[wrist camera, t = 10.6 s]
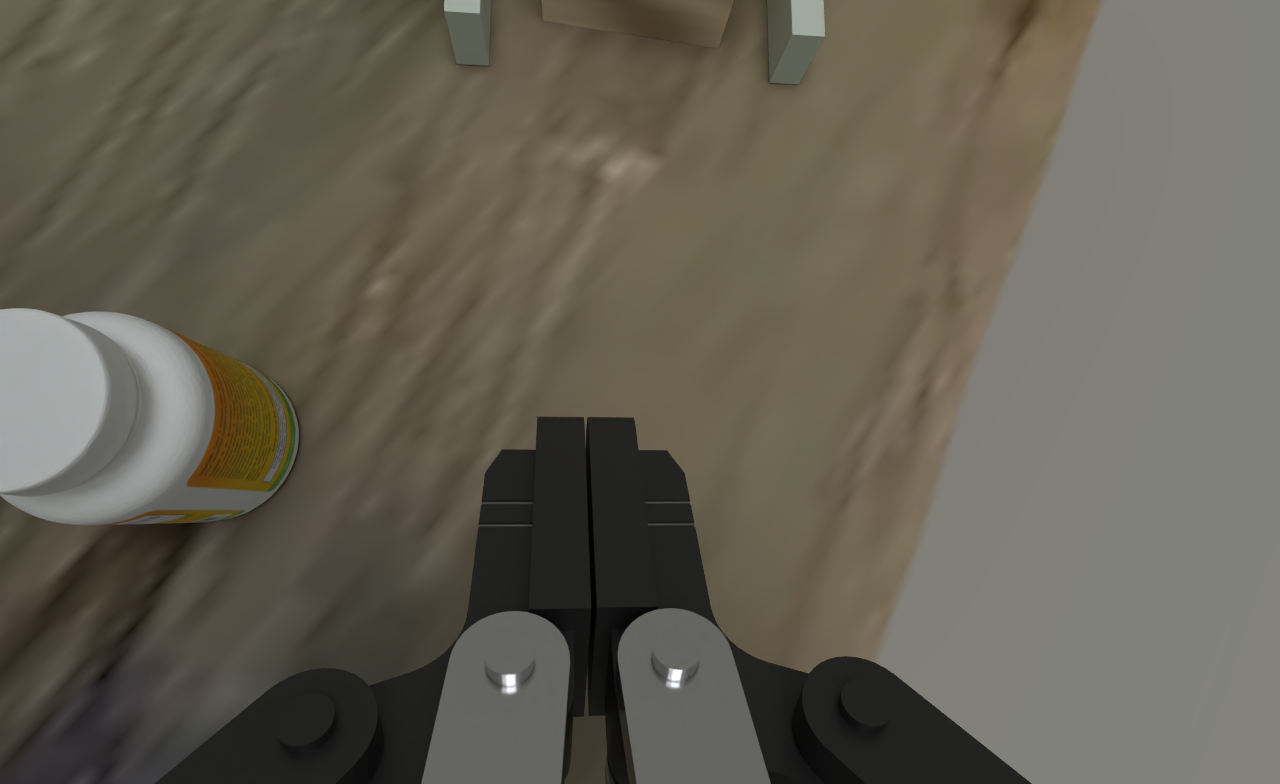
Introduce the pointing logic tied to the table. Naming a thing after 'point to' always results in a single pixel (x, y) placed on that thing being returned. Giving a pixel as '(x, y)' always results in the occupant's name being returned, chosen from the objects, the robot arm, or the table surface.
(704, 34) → the oak block
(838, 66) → the table surface
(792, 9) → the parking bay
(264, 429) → the supplement bottle
